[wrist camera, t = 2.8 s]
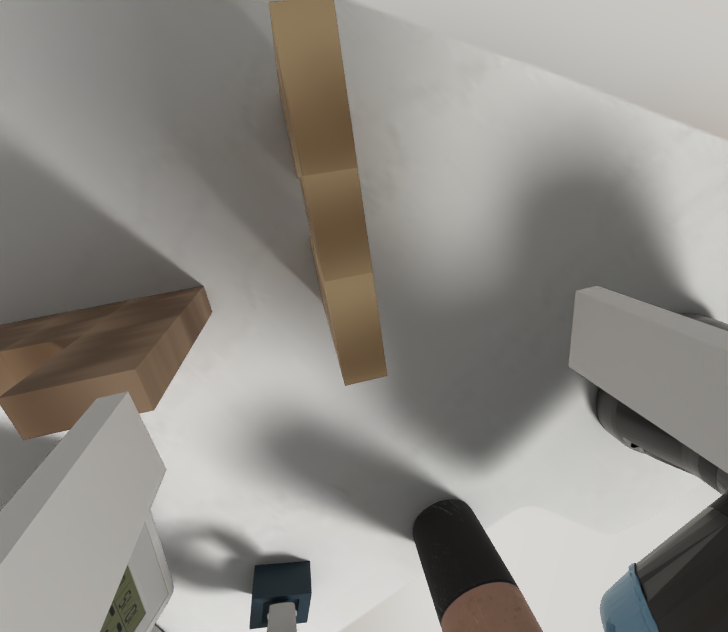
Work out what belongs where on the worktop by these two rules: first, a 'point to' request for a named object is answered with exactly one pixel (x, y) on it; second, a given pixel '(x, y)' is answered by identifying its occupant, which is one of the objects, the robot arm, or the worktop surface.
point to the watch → (280, 596)
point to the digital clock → (141, 586)
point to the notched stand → (95, 358)
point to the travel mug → (468, 573)
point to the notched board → (329, 178)
